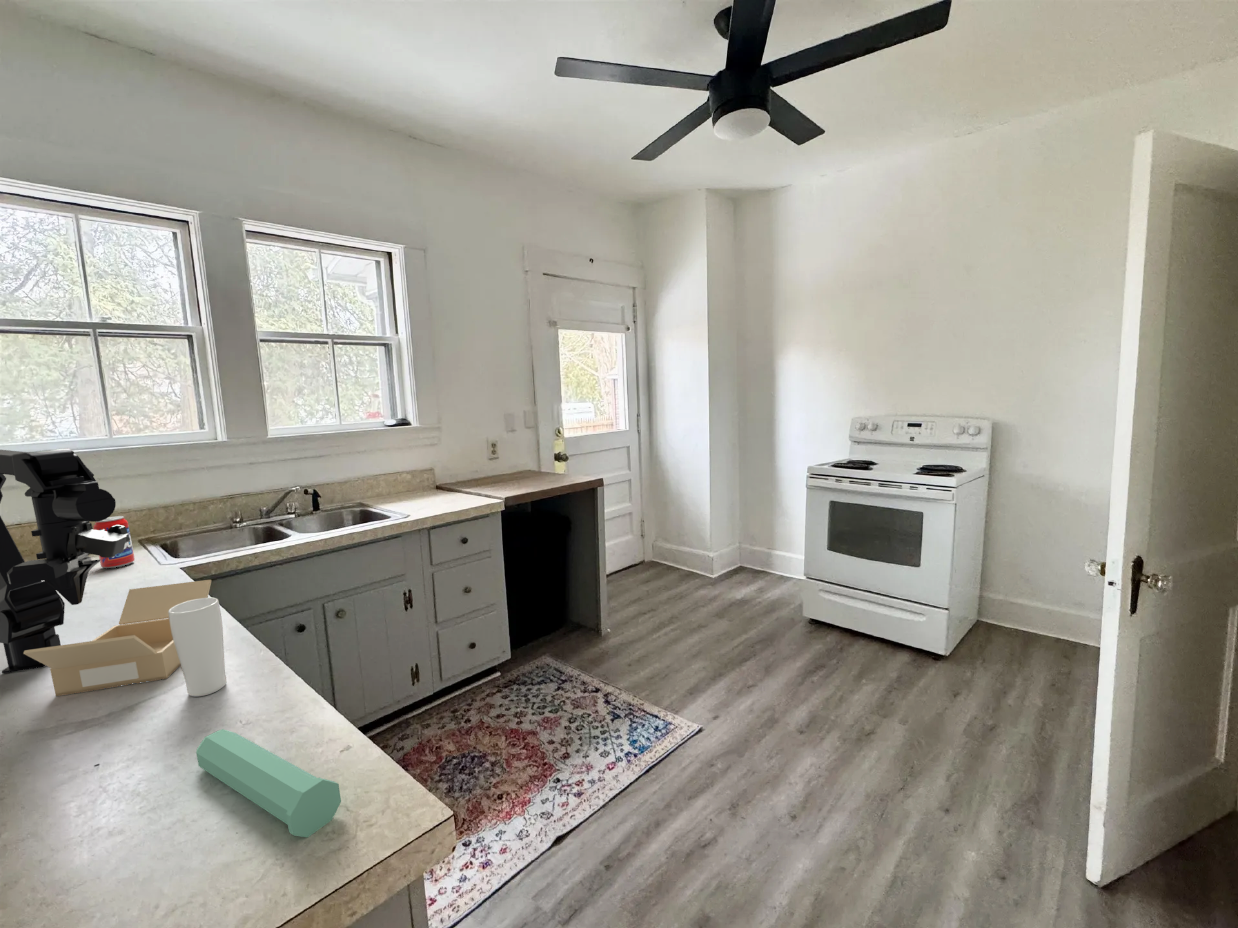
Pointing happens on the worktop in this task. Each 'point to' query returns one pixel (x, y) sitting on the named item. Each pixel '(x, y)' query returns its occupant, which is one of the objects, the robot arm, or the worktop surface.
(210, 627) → the drinking glass
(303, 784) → the green octagonal rod
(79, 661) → the flap
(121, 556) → the soda can
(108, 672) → the carton
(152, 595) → the flap
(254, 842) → the worktop surface
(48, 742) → the worktop surface
